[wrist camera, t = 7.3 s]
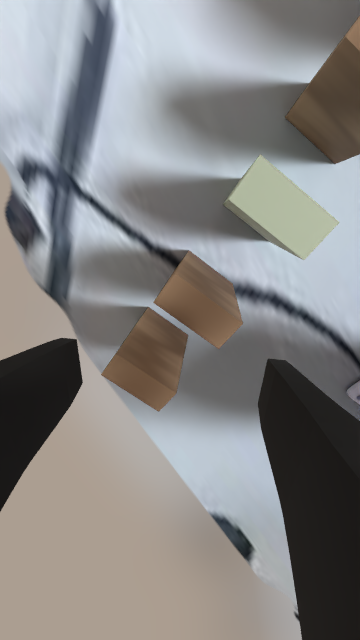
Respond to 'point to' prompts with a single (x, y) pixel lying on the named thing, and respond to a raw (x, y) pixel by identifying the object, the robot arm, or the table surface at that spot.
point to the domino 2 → (201, 300)
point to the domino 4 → (333, 102)
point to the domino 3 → (279, 209)
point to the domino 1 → (149, 360)
